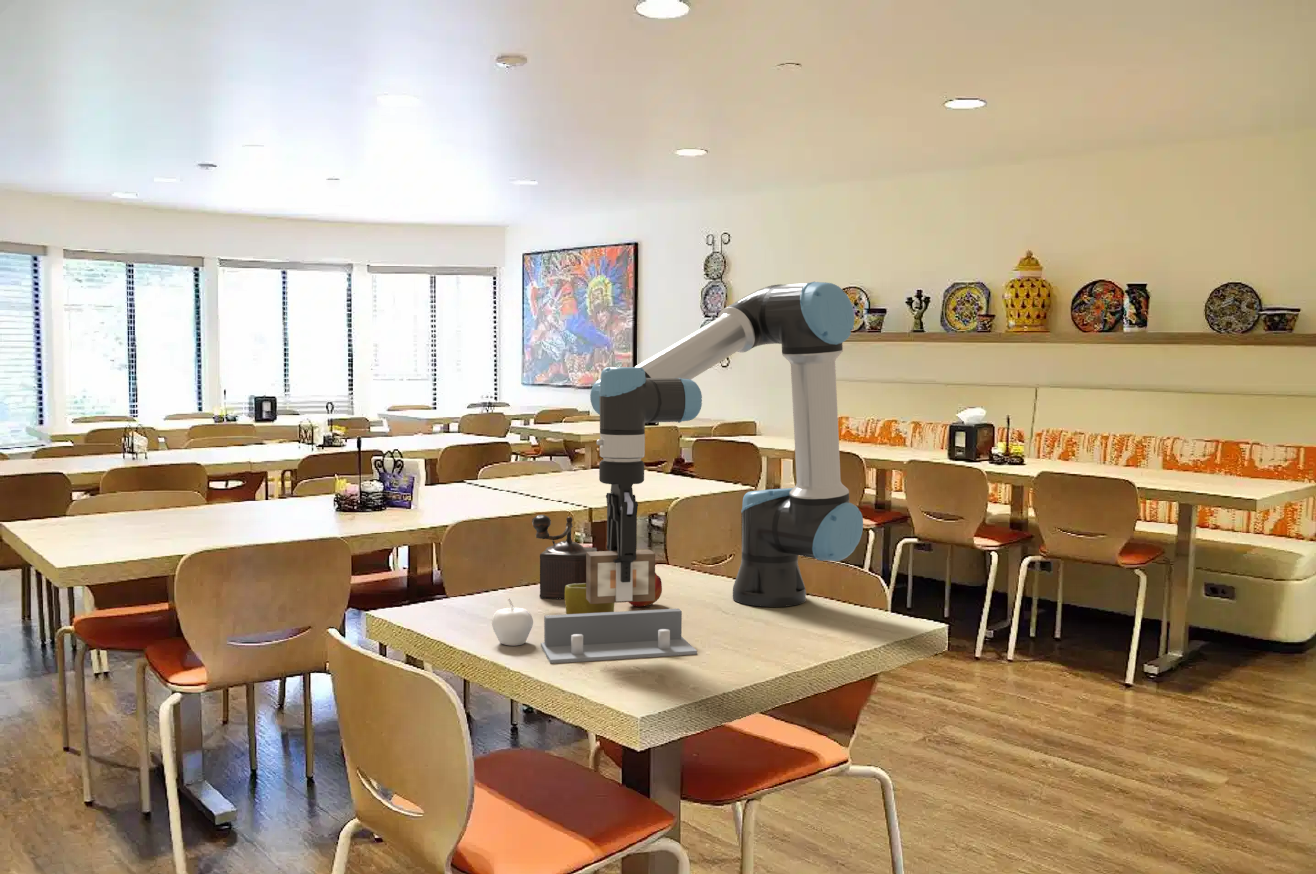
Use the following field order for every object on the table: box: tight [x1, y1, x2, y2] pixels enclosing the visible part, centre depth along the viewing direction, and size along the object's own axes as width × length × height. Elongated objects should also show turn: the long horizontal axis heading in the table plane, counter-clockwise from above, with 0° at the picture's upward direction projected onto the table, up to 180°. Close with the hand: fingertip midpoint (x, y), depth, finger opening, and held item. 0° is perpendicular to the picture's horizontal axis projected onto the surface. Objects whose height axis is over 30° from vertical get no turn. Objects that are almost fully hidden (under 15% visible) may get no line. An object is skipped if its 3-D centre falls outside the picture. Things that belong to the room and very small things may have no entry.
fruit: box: [628, 572, 663, 608], centre depth 221 cm, size 8×8×8 cm
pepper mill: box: [531, 514, 598, 601], centre depth 228 cm, size 16×11×18 cm
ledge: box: [540, 608, 698, 664], centre depth 187 cm, size 25×11×6 cm, turn 104°
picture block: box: [586, 549, 656, 604], centre depth 184 cm, size 11×4×8 cm, turn 104°
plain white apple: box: [491, 598, 534, 647], centre depth 191 cm, size 7×7×8 cm
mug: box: [564, 583, 615, 614], centre depth 204 cm, size 12×10×10 cm
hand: (620, 597), depth 184 cm, fingers closed on picture block, 4 cm apart
